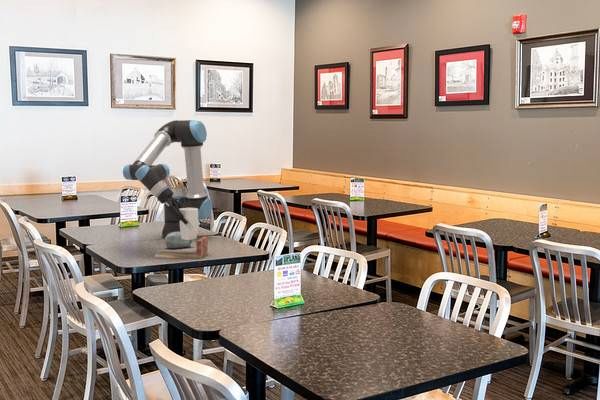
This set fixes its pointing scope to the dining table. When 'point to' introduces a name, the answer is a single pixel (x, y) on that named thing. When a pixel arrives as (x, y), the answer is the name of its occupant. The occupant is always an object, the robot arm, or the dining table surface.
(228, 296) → the dining table surface
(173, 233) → the grey stone
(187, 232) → the cup
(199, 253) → the board
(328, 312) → the dining table surface
